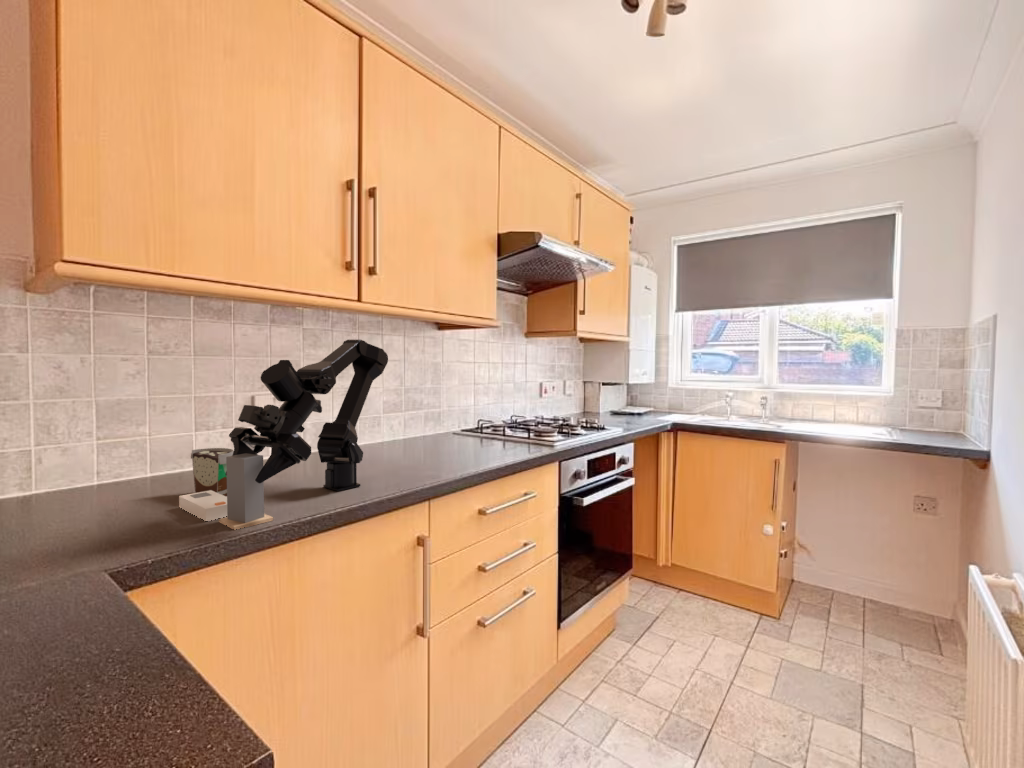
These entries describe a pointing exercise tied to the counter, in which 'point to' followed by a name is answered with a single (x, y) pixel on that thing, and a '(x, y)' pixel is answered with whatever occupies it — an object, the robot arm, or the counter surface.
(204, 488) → the food container
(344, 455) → the robot arm
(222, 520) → the cork mat
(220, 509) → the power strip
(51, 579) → the counter surface
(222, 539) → the counter surface
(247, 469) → the brick
